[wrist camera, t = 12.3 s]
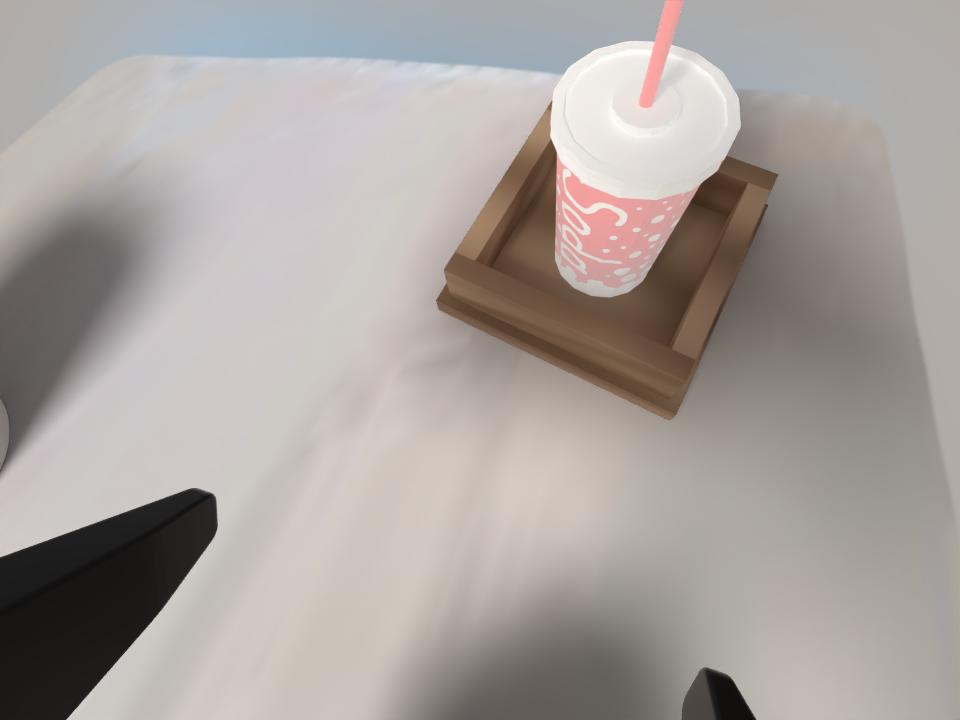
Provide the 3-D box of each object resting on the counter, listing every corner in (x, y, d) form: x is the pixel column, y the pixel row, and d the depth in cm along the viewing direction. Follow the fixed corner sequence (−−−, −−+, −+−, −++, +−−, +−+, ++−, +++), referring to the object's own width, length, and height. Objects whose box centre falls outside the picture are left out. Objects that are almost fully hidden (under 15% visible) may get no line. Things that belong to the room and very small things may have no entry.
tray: (669, 420, 24) (694, 397, 21) (439, 309, 26) (428, 274, 23) (759, 217, 27) (792, 170, 24) (546, 137, 30) (550, 84, 27)
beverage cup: (516, 234, 27) (518, -84, 13) (623, 184, 27) (722, -165, 14) (579, 333, 24) (654, 72, 11) (693, 276, 25) (887, -33, 12)
